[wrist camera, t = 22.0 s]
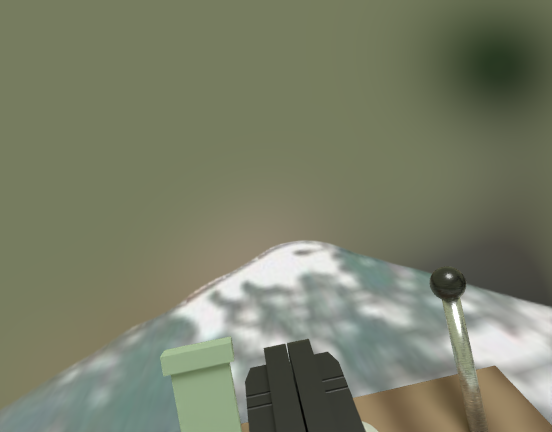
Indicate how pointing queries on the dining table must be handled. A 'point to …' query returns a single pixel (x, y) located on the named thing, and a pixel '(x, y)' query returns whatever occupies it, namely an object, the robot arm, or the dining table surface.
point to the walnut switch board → (449, 407)
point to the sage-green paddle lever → (203, 386)
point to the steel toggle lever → (460, 342)
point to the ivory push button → (369, 427)
